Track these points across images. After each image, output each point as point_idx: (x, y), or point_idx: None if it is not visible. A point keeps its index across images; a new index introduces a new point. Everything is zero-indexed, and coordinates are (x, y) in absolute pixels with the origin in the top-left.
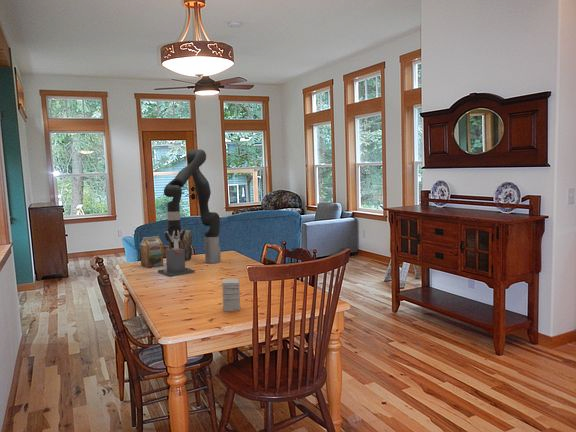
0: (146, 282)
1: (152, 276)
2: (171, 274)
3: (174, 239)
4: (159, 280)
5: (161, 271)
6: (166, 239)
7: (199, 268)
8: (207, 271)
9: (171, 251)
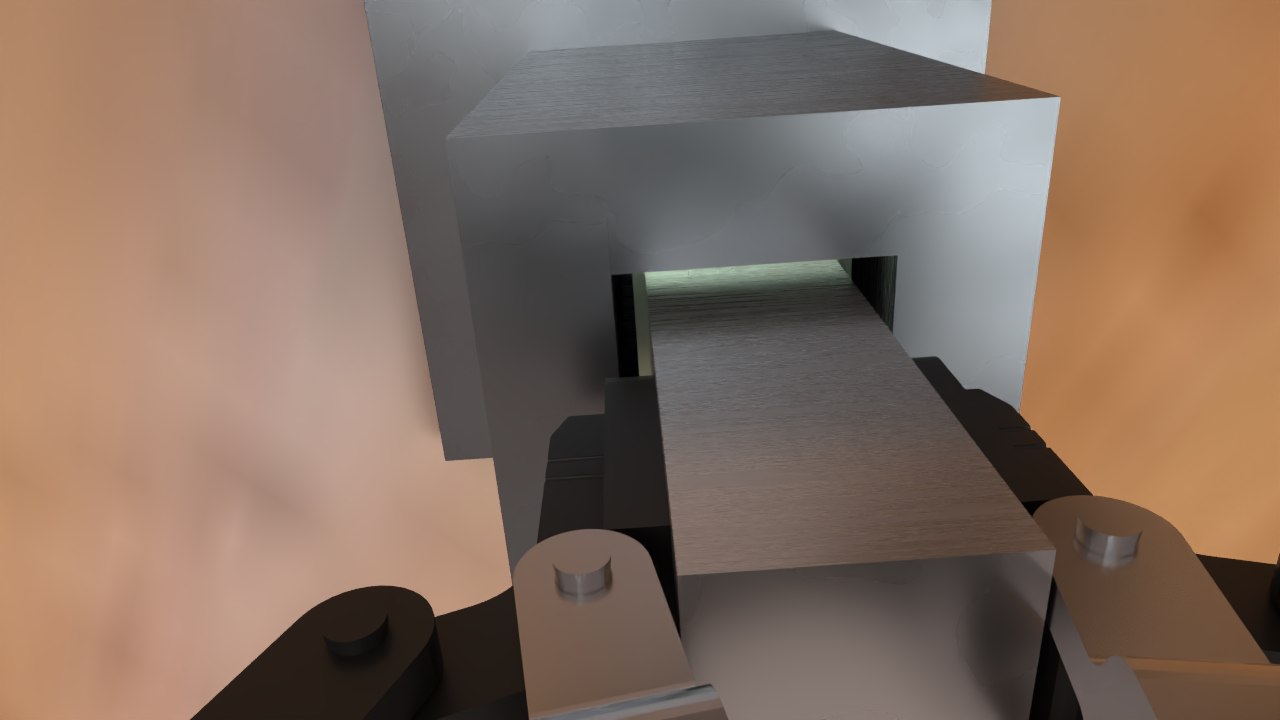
0: (8, 544)
1: (176, 189)
2: (472, 455)
3: (874, 649)
4: (226, 546)
5: (384, 103)
6: (240, 711)
7: (1249, 113)
8: (1140, 453)
9: (511, 565)
